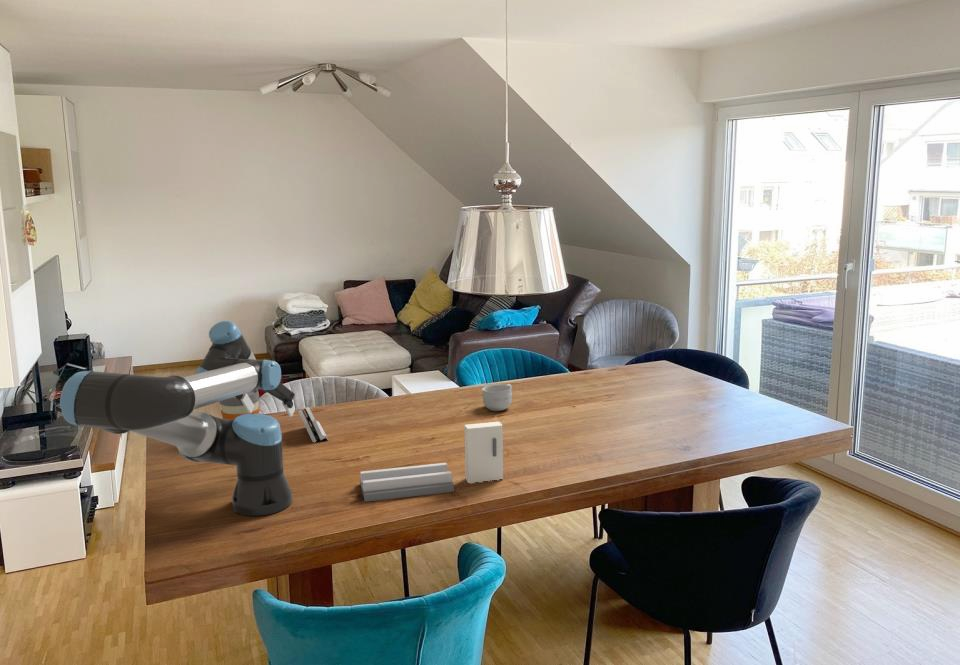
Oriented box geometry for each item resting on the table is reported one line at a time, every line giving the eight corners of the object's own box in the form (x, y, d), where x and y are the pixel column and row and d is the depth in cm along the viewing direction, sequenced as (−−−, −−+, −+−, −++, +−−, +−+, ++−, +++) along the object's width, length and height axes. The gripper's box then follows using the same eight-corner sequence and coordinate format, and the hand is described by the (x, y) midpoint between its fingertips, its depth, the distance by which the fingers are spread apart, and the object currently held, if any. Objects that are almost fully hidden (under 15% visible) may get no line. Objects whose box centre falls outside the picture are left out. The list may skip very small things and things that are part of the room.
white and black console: (329, 441, 247) (316, 414, 244) (315, 447, 246) (302, 421, 243) (320, 425, 262) (308, 400, 259) (307, 431, 261) (295, 406, 258)
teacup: (495, 415, 271) (495, 393, 270) (476, 408, 279) (475, 387, 278) (524, 407, 280) (524, 386, 278) (504, 400, 288) (504, 380, 286)
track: (364, 501, 202) (364, 485, 201) (360, 484, 213) (359, 468, 212) (453, 491, 207) (453, 476, 206) (444, 474, 219) (444, 460, 218)
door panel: (469, 484, 212) (468, 429, 208) (465, 478, 216) (464, 424, 212) (503, 480, 214) (503, 426, 211) (499, 475, 218) (499, 421, 215)
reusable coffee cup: (221, 444, 245) (217, 399, 242) (223, 432, 257) (219, 389, 254) (262, 440, 249) (259, 396, 246) (261, 428, 260) (258, 385, 257)
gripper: (289, 357, 212) (314, 404, 228) (211, 353, 219) (240, 398, 234) (278, 378, 208) (305, 424, 223) (199, 373, 214) (230, 418, 230)
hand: (272, 411), depth 229 cm, fingers open, 13 cm apart
